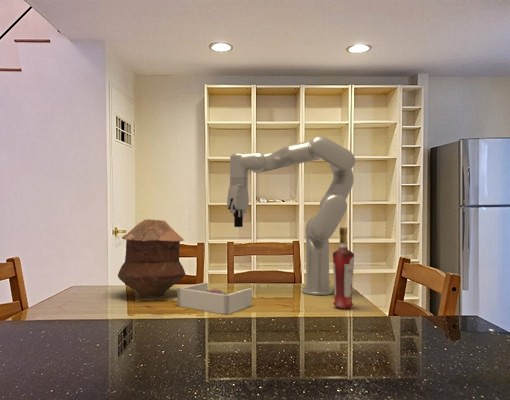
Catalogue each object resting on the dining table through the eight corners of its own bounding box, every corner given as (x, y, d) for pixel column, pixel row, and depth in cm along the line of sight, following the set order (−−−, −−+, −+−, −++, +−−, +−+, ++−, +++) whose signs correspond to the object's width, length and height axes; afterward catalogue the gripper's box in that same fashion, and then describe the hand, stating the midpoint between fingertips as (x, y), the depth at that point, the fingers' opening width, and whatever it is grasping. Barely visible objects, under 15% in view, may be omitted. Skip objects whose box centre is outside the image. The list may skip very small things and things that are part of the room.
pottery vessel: (102, 298, 148) (104, 219, 149) (145, 286, 172) (146, 218, 173) (159, 304, 138) (160, 220, 139) (196, 291, 162) (197, 219, 163)
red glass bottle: (337, 304, 141) (337, 227, 142) (357, 307, 137) (357, 227, 138) (329, 308, 135) (329, 227, 137) (349, 311, 131) (349, 228, 132)
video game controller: (225, 312, 135) (231, 292, 138) (218, 308, 131) (224, 288, 134) (203, 308, 140) (208, 289, 143) (196, 305, 136) (201, 285, 139)
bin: (204, 298, 150) (205, 282, 150) (251, 305, 138) (252, 288, 139) (177, 305, 137) (177, 288, 137) (226, 314, 126) (227, 295, 126)
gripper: (241, 184, 172) (240, 226, 172) (221, 182, 159) (220, 227, 159) (255, 184, 168) (255, 226, 168) (236, 181, 156) (235, 227, 155)
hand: (238, 226), depth 163 cm, fingers closed
